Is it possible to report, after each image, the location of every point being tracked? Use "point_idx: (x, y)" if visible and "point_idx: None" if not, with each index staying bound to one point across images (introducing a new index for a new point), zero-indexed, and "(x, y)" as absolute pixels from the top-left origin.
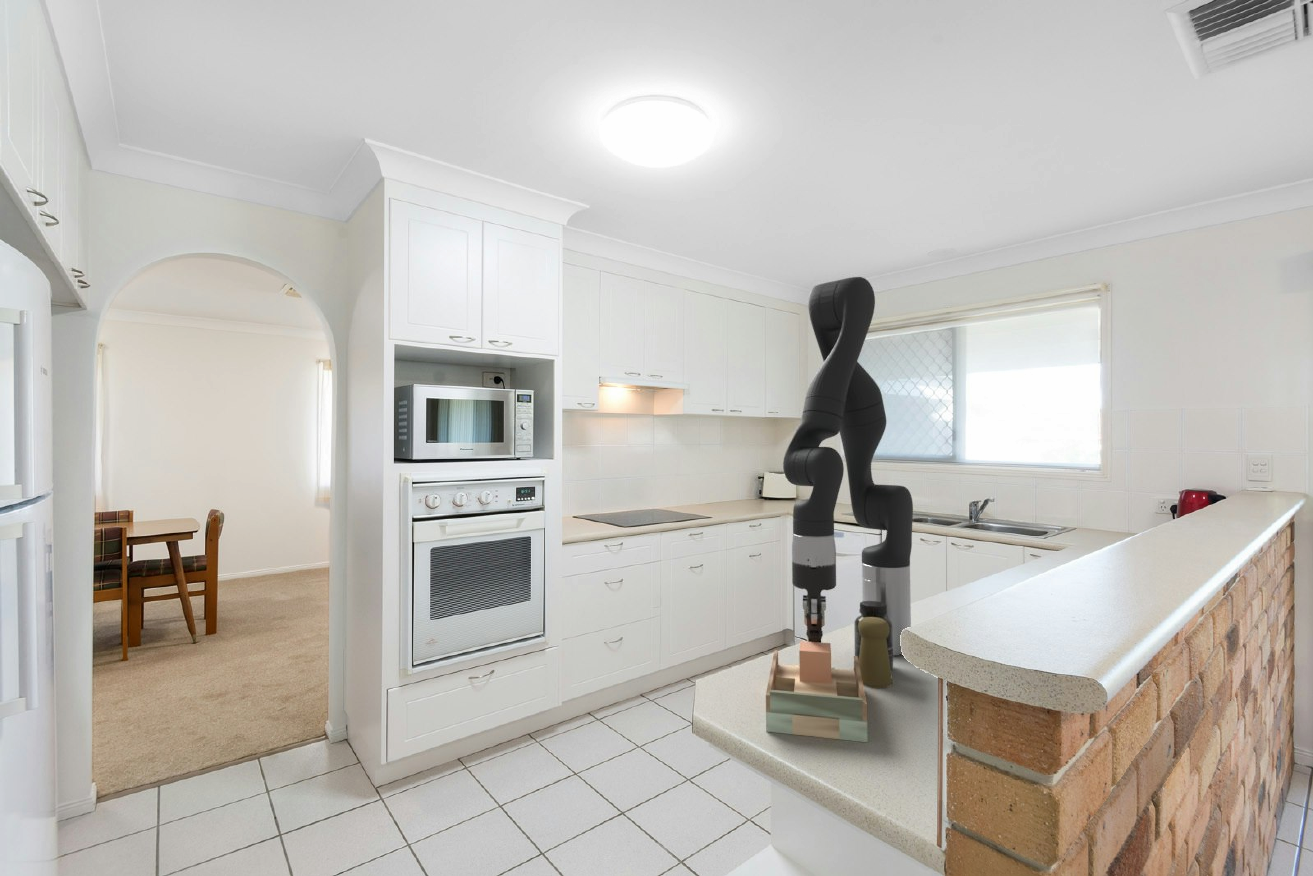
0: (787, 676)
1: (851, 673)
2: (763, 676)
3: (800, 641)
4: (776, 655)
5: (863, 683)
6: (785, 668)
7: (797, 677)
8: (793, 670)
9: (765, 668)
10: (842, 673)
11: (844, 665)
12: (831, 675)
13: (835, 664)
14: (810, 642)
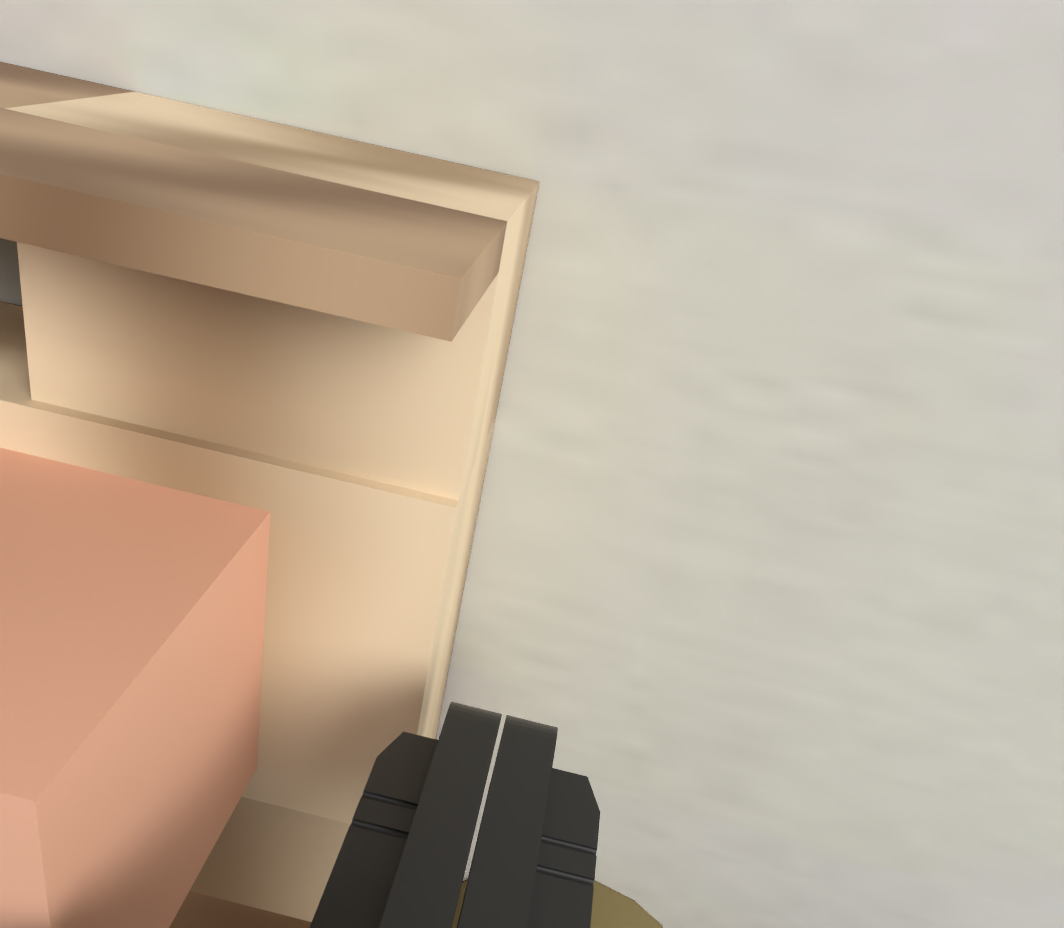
0: (71, 320)
1: (307, 904)
2: (677, 39)
3: (5, 801)
4: (161, 265)
5: (463, 891)
6: (352, 348)
7: (28, 429)
8: (294, 433)
9: (985, 109)
10: (291, 846)
11: (922, 902)
12: None
13: (963, 852)
14: (15, 916)
